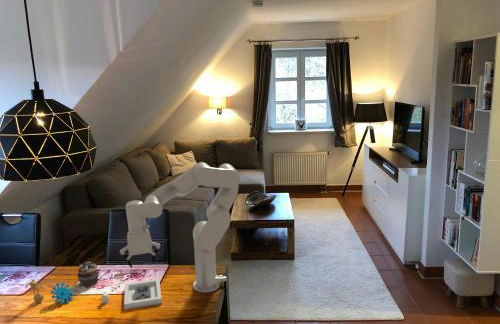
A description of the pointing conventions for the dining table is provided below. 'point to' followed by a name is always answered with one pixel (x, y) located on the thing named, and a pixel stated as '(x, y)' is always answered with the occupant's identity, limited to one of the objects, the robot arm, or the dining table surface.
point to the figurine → (38, 296)
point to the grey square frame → (142, 292)
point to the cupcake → (88, 274)
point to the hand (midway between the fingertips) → (142, 264)
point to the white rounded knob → (105, 298)
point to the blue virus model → (62, 293)
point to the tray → (132, 303)
